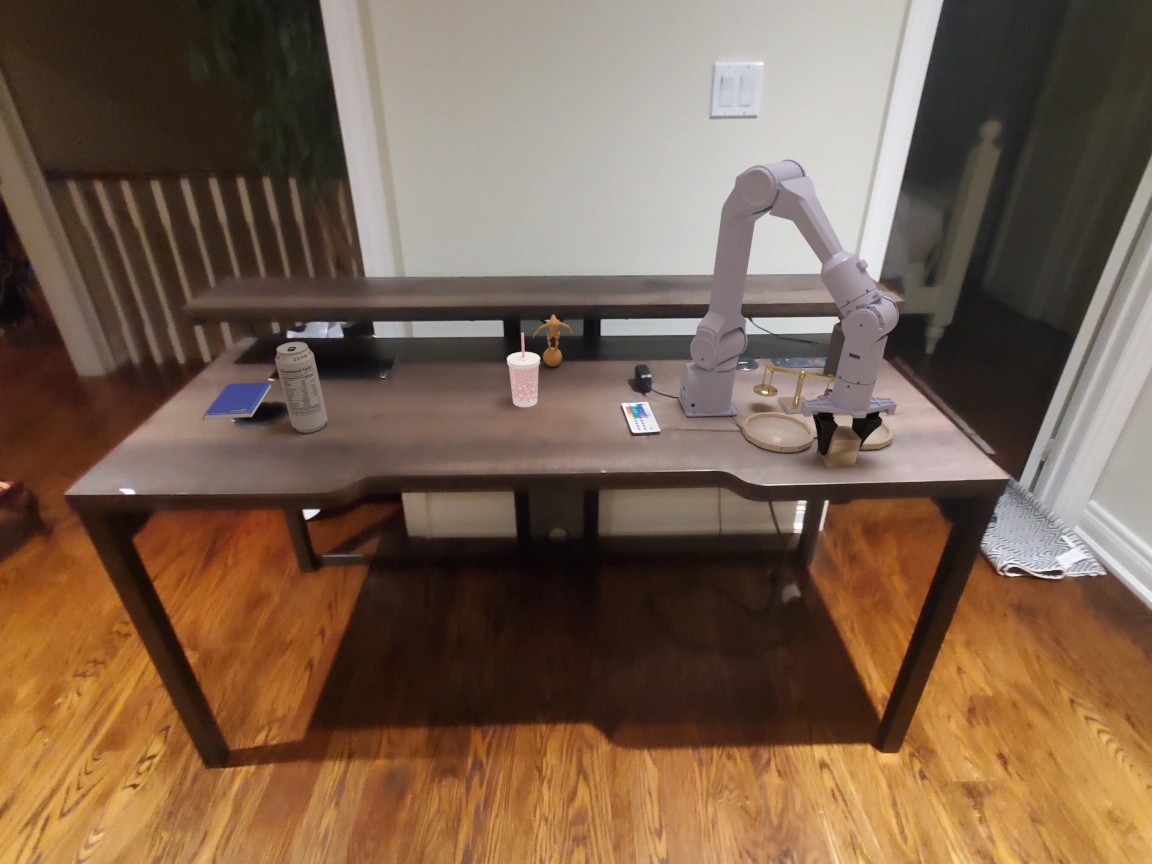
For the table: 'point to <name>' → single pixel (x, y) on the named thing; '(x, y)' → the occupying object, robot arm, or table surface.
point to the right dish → (875, 439)
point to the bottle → (835, 348)
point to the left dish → (778, 432)
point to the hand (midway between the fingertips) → (836, 451)
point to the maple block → (842, 448)
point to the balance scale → (795, 402)
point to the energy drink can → (301, 386)
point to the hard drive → (238, 400)
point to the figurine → (553, 354)
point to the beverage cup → (524, 376)
